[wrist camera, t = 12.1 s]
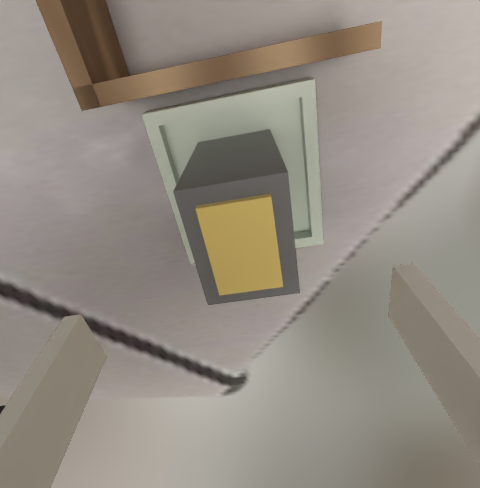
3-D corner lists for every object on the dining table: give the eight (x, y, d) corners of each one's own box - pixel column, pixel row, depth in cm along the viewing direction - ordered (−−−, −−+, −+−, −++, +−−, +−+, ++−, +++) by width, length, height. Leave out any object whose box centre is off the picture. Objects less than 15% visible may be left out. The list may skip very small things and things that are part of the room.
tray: (192, 254, 32) (190, 264, 30) (147, 111, 25) (141, 114, 23) (319, 234, 30) (323, 244, 29) (310, 77, 23) (315, 79, 22)
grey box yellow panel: (218, 226, 29) (207, 309, 20) (198, 142, 25) (171, 194, 16) (280, 216, 29) (301, 297, 19) (269, 128, 25) (289, 174, 15)
